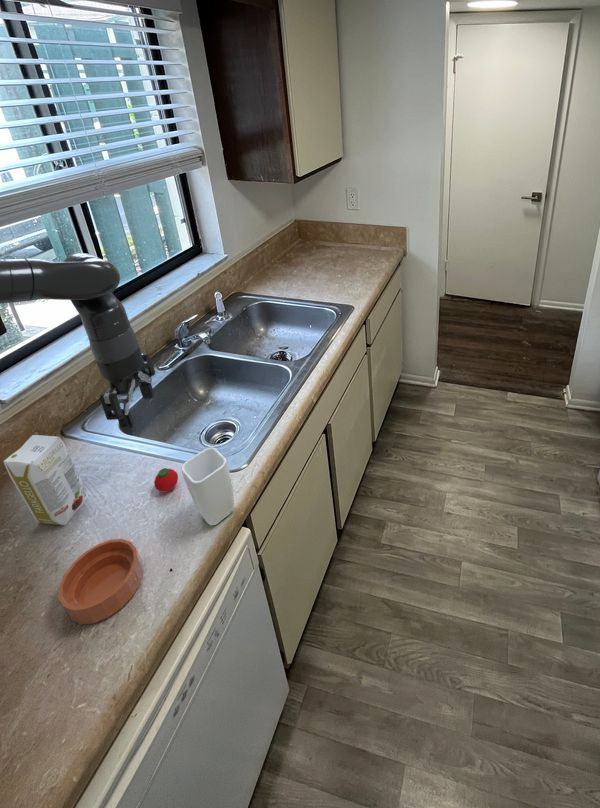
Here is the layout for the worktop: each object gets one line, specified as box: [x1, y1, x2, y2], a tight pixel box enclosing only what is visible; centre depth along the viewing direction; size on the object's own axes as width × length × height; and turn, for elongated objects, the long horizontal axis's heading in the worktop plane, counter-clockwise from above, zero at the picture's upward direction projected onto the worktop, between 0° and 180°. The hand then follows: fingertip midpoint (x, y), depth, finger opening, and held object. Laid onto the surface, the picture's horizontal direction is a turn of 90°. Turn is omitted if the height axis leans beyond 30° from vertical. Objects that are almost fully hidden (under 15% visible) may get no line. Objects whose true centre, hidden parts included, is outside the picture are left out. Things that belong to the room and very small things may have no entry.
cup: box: [180, 446, 235, 526], centre depth 92 cm, size 7×7×15 cm
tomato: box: [153, 467, 179, 493], centre depth 100 cm, size 5×5×5 cm
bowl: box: [57, 538, 145, 625], centre depth 81 cm, size 12×12×5 cm
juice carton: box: [3, 434, 89, 526], centre depth 92 cm, size 8×9×19 cm
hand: (139, 411), depth 93 cm, fingers open, 8 cm apart
